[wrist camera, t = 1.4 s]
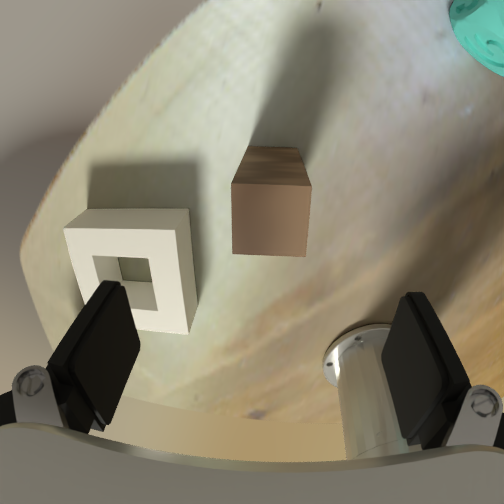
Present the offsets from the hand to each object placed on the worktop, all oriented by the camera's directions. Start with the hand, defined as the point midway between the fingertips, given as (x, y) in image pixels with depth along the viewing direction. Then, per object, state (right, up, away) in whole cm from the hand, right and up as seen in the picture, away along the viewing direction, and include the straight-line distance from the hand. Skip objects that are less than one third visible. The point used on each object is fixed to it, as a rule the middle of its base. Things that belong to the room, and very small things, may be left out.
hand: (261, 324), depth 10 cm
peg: (+1, +10, +18) cm, 21 cm away
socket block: (-13, +2, +24) cm, 27 cm away
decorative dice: (+23, +25, +9) cm, 35 cm away
